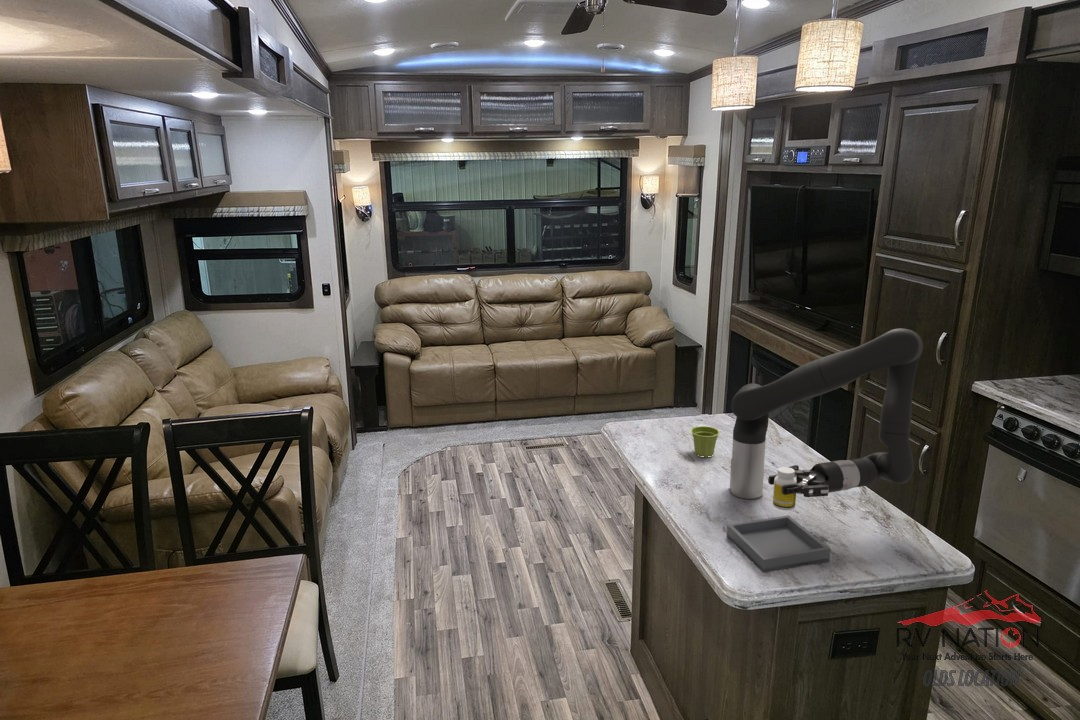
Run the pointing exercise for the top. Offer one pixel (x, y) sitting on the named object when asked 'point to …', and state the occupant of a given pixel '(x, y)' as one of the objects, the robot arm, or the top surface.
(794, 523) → the bin
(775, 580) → the top surface
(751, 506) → the top surface
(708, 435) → the plant pot
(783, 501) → the supplement bottle
